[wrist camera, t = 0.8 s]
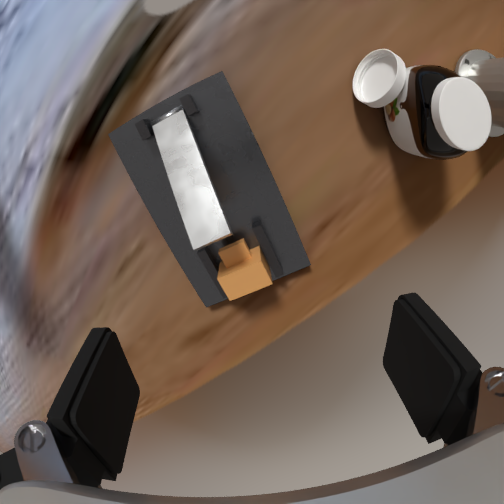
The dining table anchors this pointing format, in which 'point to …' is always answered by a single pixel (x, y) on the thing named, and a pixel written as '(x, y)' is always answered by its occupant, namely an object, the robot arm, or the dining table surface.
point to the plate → (224, 180)
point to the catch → (242, 269)
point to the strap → (190, 179)
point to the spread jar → (424, 105)
